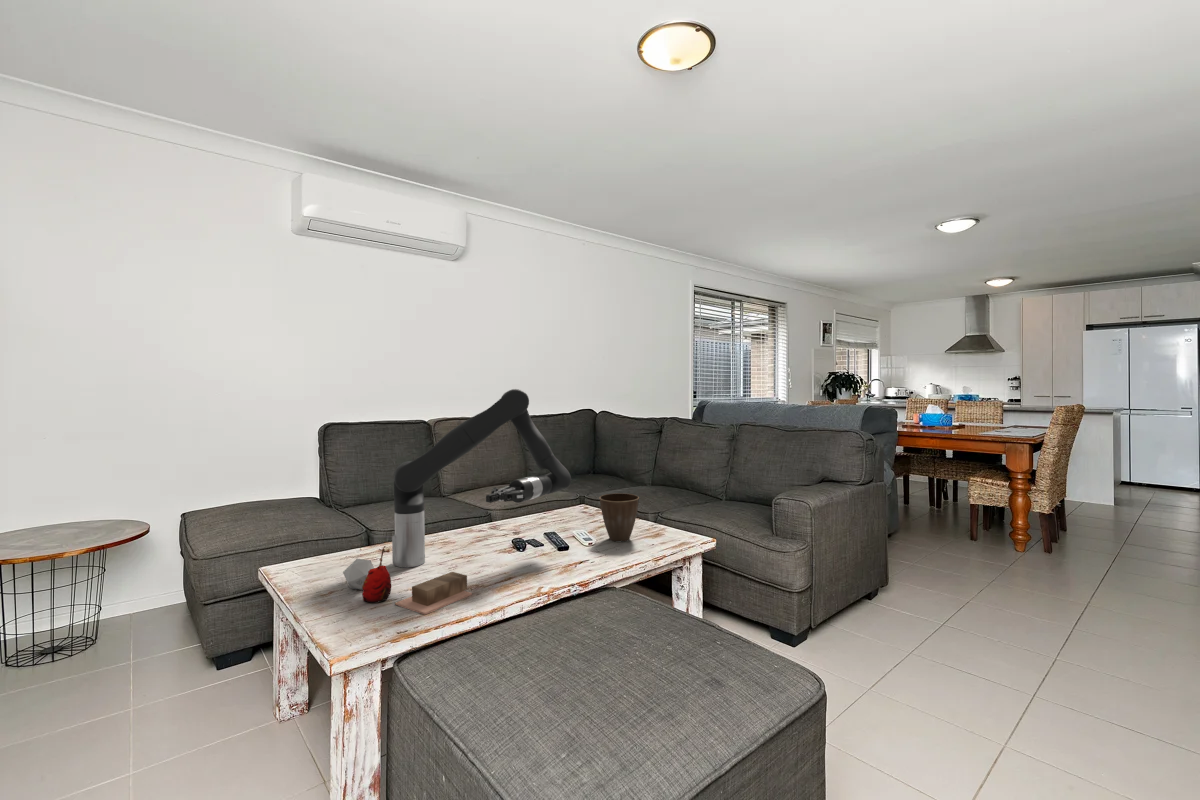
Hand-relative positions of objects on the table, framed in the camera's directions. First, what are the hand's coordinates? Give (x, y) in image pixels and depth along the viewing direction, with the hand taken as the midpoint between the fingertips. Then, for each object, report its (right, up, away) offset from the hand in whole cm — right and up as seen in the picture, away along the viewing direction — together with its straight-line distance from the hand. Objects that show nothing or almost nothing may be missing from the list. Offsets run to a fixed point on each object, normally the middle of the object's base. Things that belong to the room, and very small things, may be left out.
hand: (487, 499), depth 167 cm
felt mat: (-11, -24, -17) cm, 32 cm away
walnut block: (-6, -21, -10) cm, 24 cm away
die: (-35, -24, -8) cm, 44 cm away
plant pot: (+41, -23, +41) cm, 63 cm away
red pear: (-27, -25, -17) cm, 40 cm away
